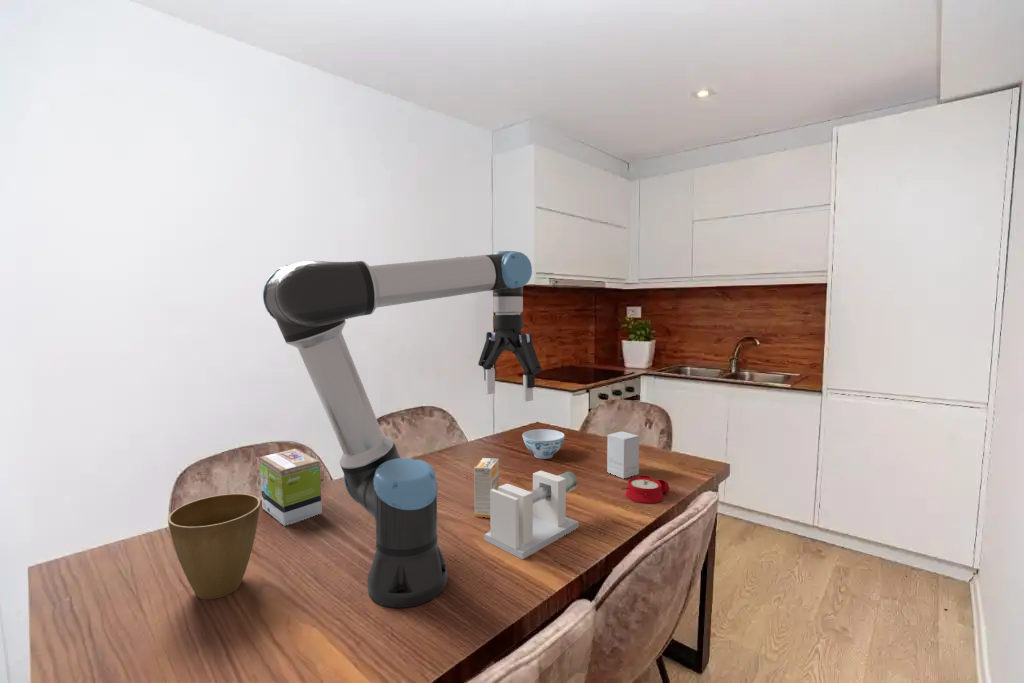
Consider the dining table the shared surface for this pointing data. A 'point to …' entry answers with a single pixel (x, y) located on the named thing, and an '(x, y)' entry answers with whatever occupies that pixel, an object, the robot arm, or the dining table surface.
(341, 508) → the dining table surface
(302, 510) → the tea box
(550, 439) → the chinaware
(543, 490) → the shaft
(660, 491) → the alarm clock
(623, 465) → the supplement box
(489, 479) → the supplement box
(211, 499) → the plant pot
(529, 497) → the housing
